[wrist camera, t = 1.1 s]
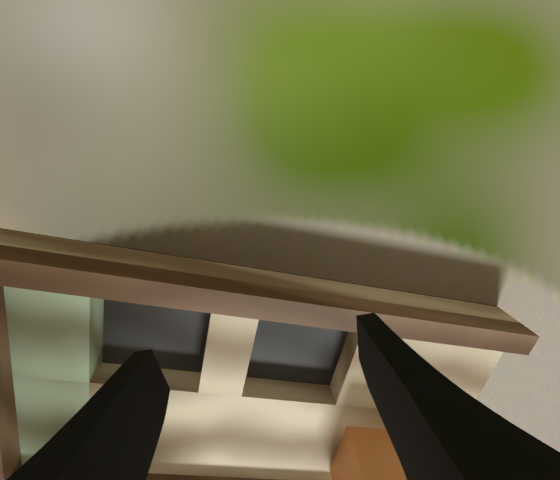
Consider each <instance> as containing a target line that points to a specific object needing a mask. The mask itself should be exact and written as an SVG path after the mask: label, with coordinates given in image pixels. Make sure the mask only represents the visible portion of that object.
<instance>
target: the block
mask: <svg viewBox="0 0 560 480" xmlns="http://www.w3.org/2000/svg"><path fill="white" fill-rule="evenodd" d="M330 473H331V477H332V480H407V478H406V476H405V473H404V470H403V468H402V465H401V463H400V460H399V458H398V456H397V453H396V451H395V449H394V446H393V444H392V442H391V440H390V437H389V435H388V433H387V430H386V429H377V428H365V427H352V426H347V427H346V430H345V433H344V435H343V438H342V440H341V443H340V445H339V448H338V450H337V453H336V455H335V458H334V460H333V463H332V465H331V468H330Z"/></svg>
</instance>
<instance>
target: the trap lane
mask: <svg viewBox="0 0 560 480" xmlns="http://www.w3.org/2000/svg"><path fill="white" fill-rule="evenodd" d="M369 313H375V314H376V315H378V316H379V317H380V319H381V320H382V321H383V322H384V323H385V324H386V325H387V326H389V327H390V328H391V329H392V330H393V331H394V332H395V333H396V334H397V335H398V336H399V337H400V338H401V339H402V340H403V341H404V342H405V343H406V344H408V345H409V346H410V347H411V348H412V349H413V350H414V351H416V352H417V353H418V354H419V355H420V356H421V357H422V358H424V359H425V360H426V361H427V362H428V363H429V364H431V365H432V366H433V367H434V368H435V369H437V370H438V371H439V372H440V373H442V374H443V375H444V376H446V377H447V378H448V379H449V380H451V381H452V382H453V383H454V384H456V385H457V386H458V387H460V388H461V389H462V390H464V391H465V392H466V393H468V394H469V395H471V396H472V397H473V398H475V399H477V397H478V396H479V394H480V392H481V390H482V389H483V387H484V385H485V383H486V382H487V380H488V378H489V376H490V374H491V373H492V371H493V369H494V367H495V366H496V364H497V362H498V360H499V359H500V357H501V355H502V353H503V352H508V353H516V354H523V355H529V353H530V351H531V350H532V348H533V347H534V345H535V343H536V342H537V340H538V338H539V336H538V335H536V334H535V333H534V332H532V331H531V330H529V329H528V328H527V327H525V326H524V325H522V324H521V323H520V322H518V321H517V320H515V319H514V318H513V317H511V316H510V315H508V314H507V313H506V312H504V311H503V310H502V309H500V308H499V307H496V306H490V305H483V304H477V303H471V302H464V301H458V300H452V299H445V298H439V297H433V296H426V295H420V294H414V293H407V292H401V291H395V290H388V289H382V288H376V287H369V286H363V285H357V284H350V283H344V282H338V281H331V280H325V279H319V278H312V277H306V276H300V275H293V274H287V273H281V272H274V271H268V270H262V269H255V268H249V267H243V266H236V265H230V264H224V263H217V262H211V261H205V260H198V259H192V258H186V257H179V256H173V255H167V254H160V253H154V252H148V251H141V250H135V249H128V248H122V247H116V246H109V245H103V244H97V243H90V242H84V241H78V240H71V239H64V238H59V237H52V236H46V235H40V234H33V233H27V232H21V231H14V230H8V229H2V228H0V480H6V479H7V478H9V477H10V476H11V475H12V474H13V473H14V472H15V471H16V470H18V469H19V468H20V467H21V466H22V465H23V464H24V463H25V462H26V461H28V460H29V459H30V458H31V457H32V456H33V455H34V454H35V453H36V452H37V451H38V450H39V449H40V448H42V447H43V446H44V445H45V444H46V443H47V442H48V441H49V440H50V439H51V438H52V437H53V436H54V435H55V434H56V433H57V432H58V431H59V430H60V429H61V428H62V427H63V426H64V425H65V424H66V423H67V422H68V421H69V420H70V419H71V418H72V417H73V416H74V415H75V414H76V413H77V412H78V411H79V410H80V409H81V408H82V407H83V406H84V405H85V404H86V403H87V401H88V400H89V399H90V398H91V397H92V396H93V395H94V394H95V393H96V392H97V391H98V390H99V389H100V388H101V387H102V386H103V385H104V383H105V382H106V381H107V380H108V379H109V378H110V377H111V376H112V375H113V374H114V373H115V372H116V371H117V369H118V368H119V367H120V366H121V365H122V364H123V363H124V362H125V361H126V360H127V359H128V358H129V357H130V356H131V355H132V354H133V353H134V352H137V351H143V350H149V349H152V351H153V353H154V355H155V357H156V360H157V362H158V364H159V366H160V368H161V370H162V372H163V375H164V377H165V379H166V381H167V383H168V385H169V387H170V393H169V399H168V405H167V410H166V415H165V420H164V424H163V427H162V431H161V434H160V437H159V440H158V444H157V447H156V450H155V453H154V457H153V460H152V463H151V466H150V469H149V473H148V476H147V479H146V480H332V477H331V473H330V468H331V465H332V463H333V460H334V458H335V455H336V453H337V450H338V448H339V445H340V443H341V440H342V438H343V435H344V433H345V430H346V427H347V426H352V427H365V428H377V429H386V428H385V426H384V424H383V421H382V419H381V417H380V414H379V412H378V410H377V407H376V405H375V403H374V401H373V398H372V396H371V394H370V391H369V389H368V386H367V383H366V380H365V377H364V374H363V371H362V367H361V364H360V361H359V354H358V337H357V320H356V315H363V314H369Z"/></svg>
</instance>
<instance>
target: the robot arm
mask: <svg viewBox="0 0 560 480" xmlns="http://www.w3.org/2000/svg"><path fill="white" fill-rule="evenodd" d="M356 320H357V337H358V354H359V361H360V364H361V367H362V371H363V374H364V377H365V380H366V383H367V386H368V389H369V391H370V394H371V396H372V398H373V401H374V403H375V405H376V407H377V410H378V412H379V414H380V417H381V419H382V421H383V424H384V426H385V428H386V430H387V433H388V435H389V437H390V440H391V442H392V444H393V446H394V449H395V451H396V453H397V456H398V458H399V460H400V463H401V465H402V468H403V470H404V473H405V476H406V478H407V480H560V452H558V451H556V450H555V449H553V448H551V447H550V446H548V445H546V444H545V443H543V442H542V441H540V440H538V439H537V438H535V437H533V436H532V435H530V434H528V433H527V432H525V431H523V430H522V429H520V428H518V427H517V426H515V425H514V424H512V423H510V422H509V421H507V420H506V419H504V418H503V417H501V416H500V415H498V414H497V413H495V412H494V411H492V410H491V409H489V408H488V407H486V406H485V405H483V404H482V403H481V402H479V401H478V400H476V399H475V398H473V397H472V396H471V395H469V394H468V393H466V392H465V391H464V390H462V389H461V388H460V387H458V386H457V385H456V384H454V383H453V382H452V381H451V380H449V379H448V378H447V377H446V376H444V375H443V374H442V373H440V372H439V371H438V370H437V369H435V368H434V367H433V366H432V365H431V364H429V363H428V362H427V361H426V360H425V359H424V358H422V357H421V356H420V355H419V354H418V353H417V352H416V351H414V350H413V349H412V348H411V347H410V346H409V345H408V344H406V343H405V342H404V341H403V340H402V339H401V338H400V337H399V336H398V335H397V334H396V333H395V332H394V331H393V330H392V329H391V328H390V327H389V326H387V325H386V324H385V323H384V322H383V321H382V320H381V319H380V317H379V316H378V315H376V314H375V313H369V314H363V315H356ZM169 393H170V387H169V385H168V383H167V381H166V379H165V377H164V375H163V372H162V370H161V368H160V366H159V364H158V362H157V360H156V357H155V355H154V353H153V351H152V349H149V350H143V351H137V352H134V353H133V354H132V355H131V356H130V357H129V358H128V359H127V360H126V361H125V362H124V363H123V364H122V365H121V366H120V367H119V368H118V369H117V371H116V372H115V373H114V374H113V375H112V376H111V377H110V378H109V379H108V380H107V381H106V382H105V383H104V385H103V386H102V387H101V388H100V389H99V390H98V391H97V392H96V393H95V394H94V395H93V396H92V397H91V398H90V399H89V400H88V401H87V403H86V404H85V405H84V406H83V407H82V408H81V409H80V410H79V411H78V412H77V413H76V414H75V415H74V416H73V417H72V418H71V419H70V420H69V421H68V422H67V423H66V424H65V425H64V426H63V427H62V428H61V429H60V430H59V431H58V432H57V433H56V434H55V435H54V436H53V437H52V438H51V439H50V440H49V441H48V442H47V443H46V444H45V445H44V446H43V447H42V448H40V449H39V450H38V451H37V452H36V453H35V454H34V455H33V456H32V457H31V458H30V459H29V460H28V461H26V462H25V463H24V464H23V465H22V466H21V467H20V468H19V469H18V470H16V471H15V472H14V473H13V474H12V475H11V476H10V477H9V478H7V479H6V480H146V479H147V476H148V473H149V469H150V466H151V463H152V460H153V457H154V453H155V450H156V447H157V444H158V440H159V437H160V434H161V431H162V427H163V424H164V420H165V415H166V410H167V405H168V399H169Z"/></svg>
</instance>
